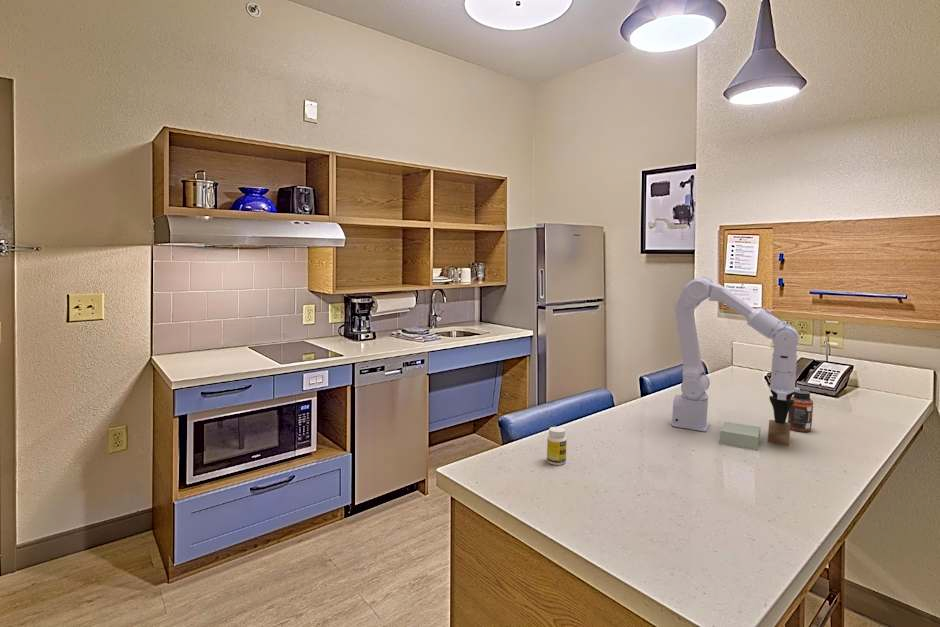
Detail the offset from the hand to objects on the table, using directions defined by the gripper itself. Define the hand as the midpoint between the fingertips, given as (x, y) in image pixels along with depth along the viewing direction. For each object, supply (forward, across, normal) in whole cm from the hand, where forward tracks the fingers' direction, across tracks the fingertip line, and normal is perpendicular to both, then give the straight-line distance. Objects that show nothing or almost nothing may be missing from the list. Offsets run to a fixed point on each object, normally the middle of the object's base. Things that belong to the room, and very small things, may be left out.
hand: (780, 419), depth 145 cm
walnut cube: (+6, 0, 0) cm, 6 cm away
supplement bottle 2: (+6, +14, -5) cm, 16 cm away
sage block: (+6, -6, +9) cm, 13 cm away
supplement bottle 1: (+6, -44, +47) cm, 65 cm away
